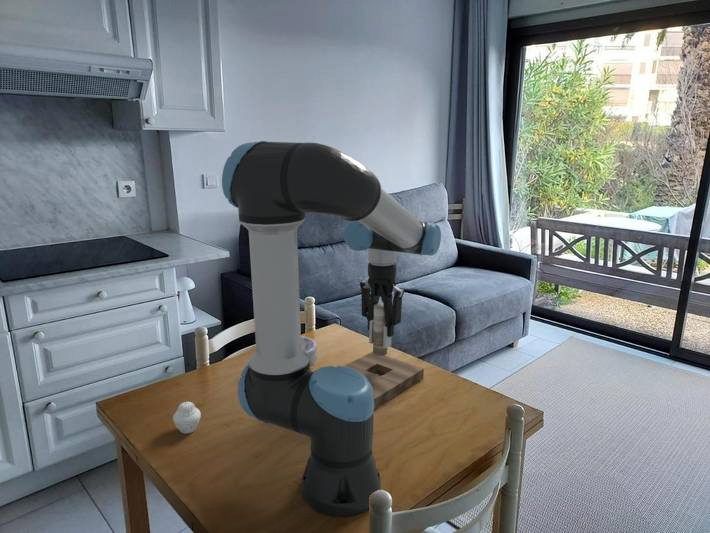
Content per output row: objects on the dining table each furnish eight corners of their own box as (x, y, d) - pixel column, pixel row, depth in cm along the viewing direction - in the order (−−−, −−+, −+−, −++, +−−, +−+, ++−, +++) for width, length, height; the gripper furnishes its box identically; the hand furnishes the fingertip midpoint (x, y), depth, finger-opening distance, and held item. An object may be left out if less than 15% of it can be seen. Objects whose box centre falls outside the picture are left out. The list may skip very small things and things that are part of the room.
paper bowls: (259, 364, 149) (258, 339, 147) (307, 355, 155) (306, 331, 153) (273, 386, 136) (272, 359, 134) (325, 376, 142) (325, 350, 140)
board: (371, 411, 123) (371, 400, 123) (318, 388, 134) (318, 378, 134) (423, 378, 141) (423, 368, 141) (373, 360, 152) (373, 351, 152)
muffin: (186, 440, 111) (184, 412, 109) (168, 432, 114) (165, 404, 112) (207, 427, 116) (205, 400, 114) (189, 419, 119) (187, 393, 117)
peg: (381, 357, 136) (382, 308, 132) (369, 353, 138) (370, 305, 135) (390, 352, 139) (392, 304, 135) (378, 348, 141) (379, 301, 138)
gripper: (417, 265, 129) (413, 348, 135) (365, 255, 140) (364, 332, 146) (400, 270, 124) (397, 357, 130) (348, 259, 134) (347, 340, 140)
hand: (380, 344), depth 138 cm, fingers closed on peg, 4 cm apart
